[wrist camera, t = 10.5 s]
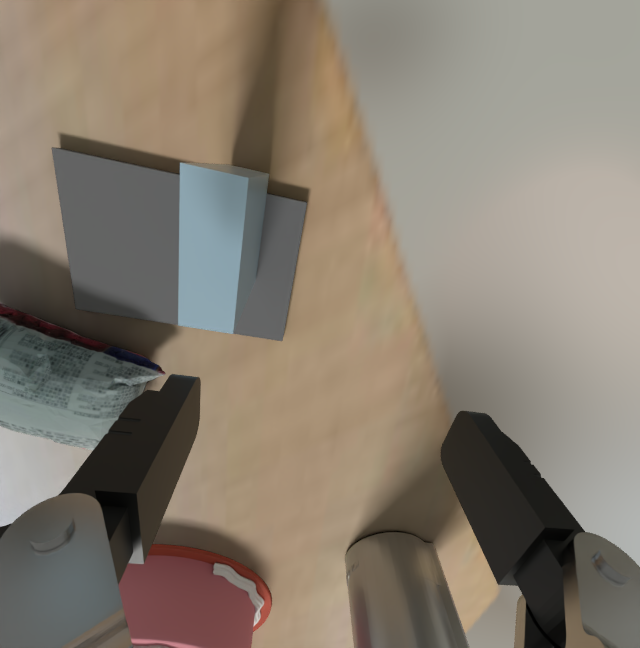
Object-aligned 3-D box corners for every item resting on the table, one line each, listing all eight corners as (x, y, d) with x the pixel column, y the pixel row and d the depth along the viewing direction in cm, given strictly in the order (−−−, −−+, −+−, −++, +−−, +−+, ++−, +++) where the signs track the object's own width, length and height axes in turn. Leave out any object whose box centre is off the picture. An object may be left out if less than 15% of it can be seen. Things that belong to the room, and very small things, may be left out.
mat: (306, 201, 18) (307, 203, 17) (282, 336, 22) (282, 341, 21) (59, 148, 16) (51, 147, 16) (81, 305, 20) (75, 309, 19)
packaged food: (146, 433, 25) (113, 488, 21) (-22, 380, 22) (-102, 432, 18) (179, 351, 22) (149, 395, 18) (-11, 277, 19) (-104, 308, 15)
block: (255, 279, 19) (269, 173, 17) (233, 333, 13) (248, 178, 10) (219, 273, 19) (227, 164, 16) (178, 325, 13) (179, 162, 10)
